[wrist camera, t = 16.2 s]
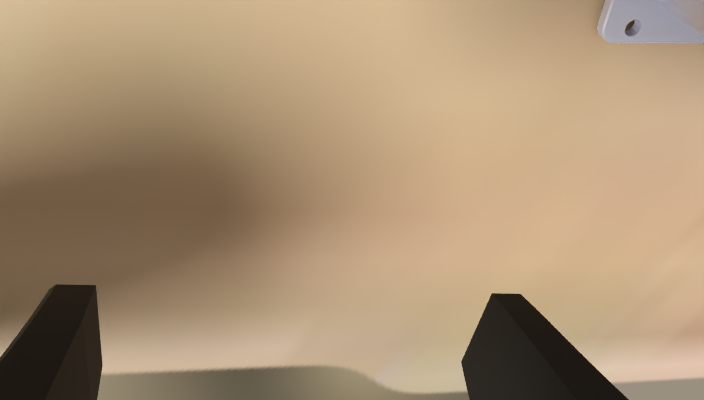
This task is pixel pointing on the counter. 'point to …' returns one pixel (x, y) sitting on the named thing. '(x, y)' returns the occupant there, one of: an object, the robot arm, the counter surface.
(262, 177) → the counter surface
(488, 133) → the counter surface
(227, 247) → the counter surface
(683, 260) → the counter surface
